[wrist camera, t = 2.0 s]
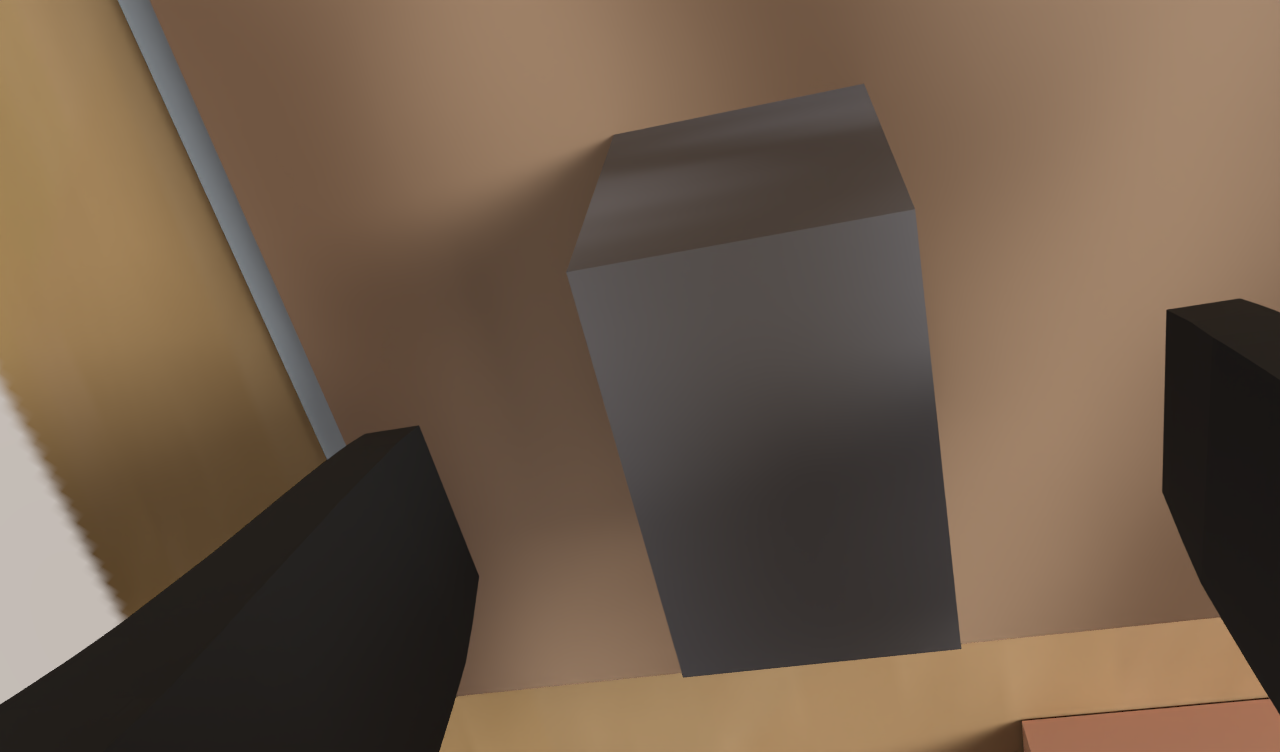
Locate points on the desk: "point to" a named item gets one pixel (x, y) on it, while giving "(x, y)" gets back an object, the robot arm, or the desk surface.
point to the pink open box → (1162, 730)
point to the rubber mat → (231, 217)
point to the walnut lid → (760, 298)
